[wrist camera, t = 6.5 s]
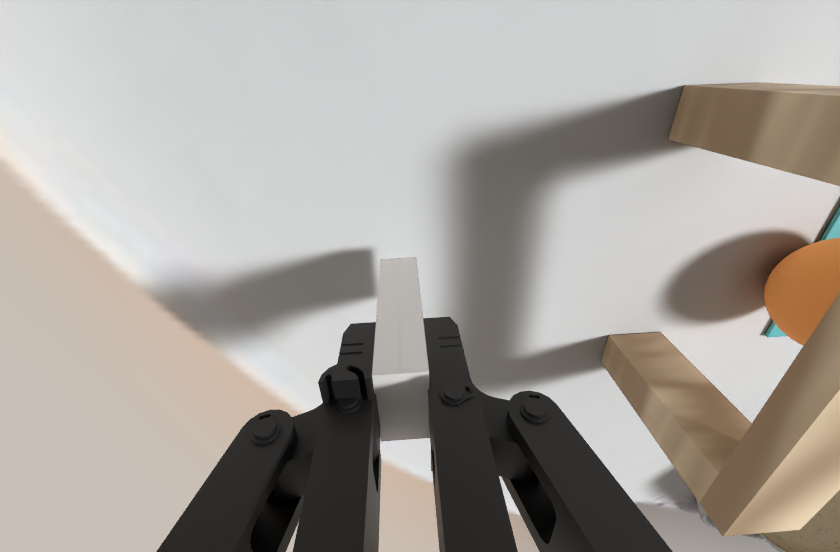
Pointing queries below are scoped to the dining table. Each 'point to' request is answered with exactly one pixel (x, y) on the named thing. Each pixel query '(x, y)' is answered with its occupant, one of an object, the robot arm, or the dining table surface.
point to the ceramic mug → (803, 531)
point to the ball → (804, 288)
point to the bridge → (808, 374)
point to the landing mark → (836, 229)
